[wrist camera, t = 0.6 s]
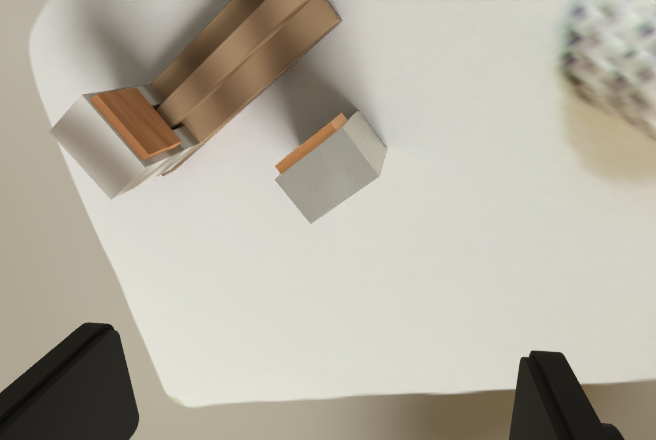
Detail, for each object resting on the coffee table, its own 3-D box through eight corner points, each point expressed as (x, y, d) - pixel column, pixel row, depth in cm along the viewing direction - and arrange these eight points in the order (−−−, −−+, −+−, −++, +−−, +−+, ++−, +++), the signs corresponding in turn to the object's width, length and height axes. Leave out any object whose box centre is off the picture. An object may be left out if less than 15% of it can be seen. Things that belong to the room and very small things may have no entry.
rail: (291, -51, 32) (238, -90, 22) (342, 20, 33) (312, 11, 24) (128, 116, 39) (40, 138, 30) (174, 170, 40) (103, 207, 31)
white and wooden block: (387, 149, 36) (379, 176, 28) (331, 189, 38) (310, 223, 31) (353, 102, 35) (335, 118, 28) (298, 146, 37) (268, 171, 30)
